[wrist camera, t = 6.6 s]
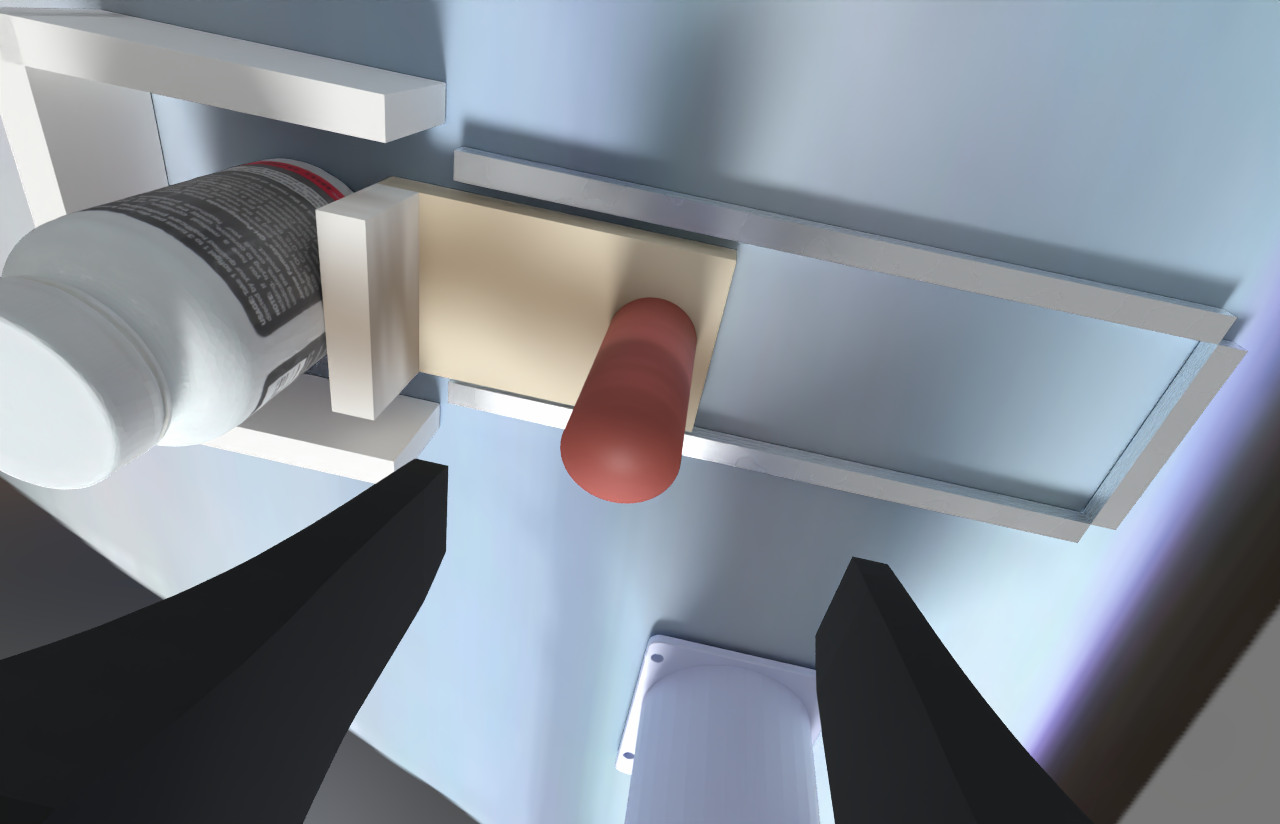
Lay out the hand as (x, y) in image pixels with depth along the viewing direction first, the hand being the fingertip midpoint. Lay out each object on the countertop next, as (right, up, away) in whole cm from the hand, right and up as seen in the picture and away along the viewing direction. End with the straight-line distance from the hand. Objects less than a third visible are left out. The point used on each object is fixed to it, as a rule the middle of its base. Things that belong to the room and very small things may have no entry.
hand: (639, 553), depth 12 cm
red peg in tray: (-3, +6, +8) cm, 11 cm away
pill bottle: (-10, +8, +9) cm, 15 cm away
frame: (-10, +7, +9) cm, 15 cm away
